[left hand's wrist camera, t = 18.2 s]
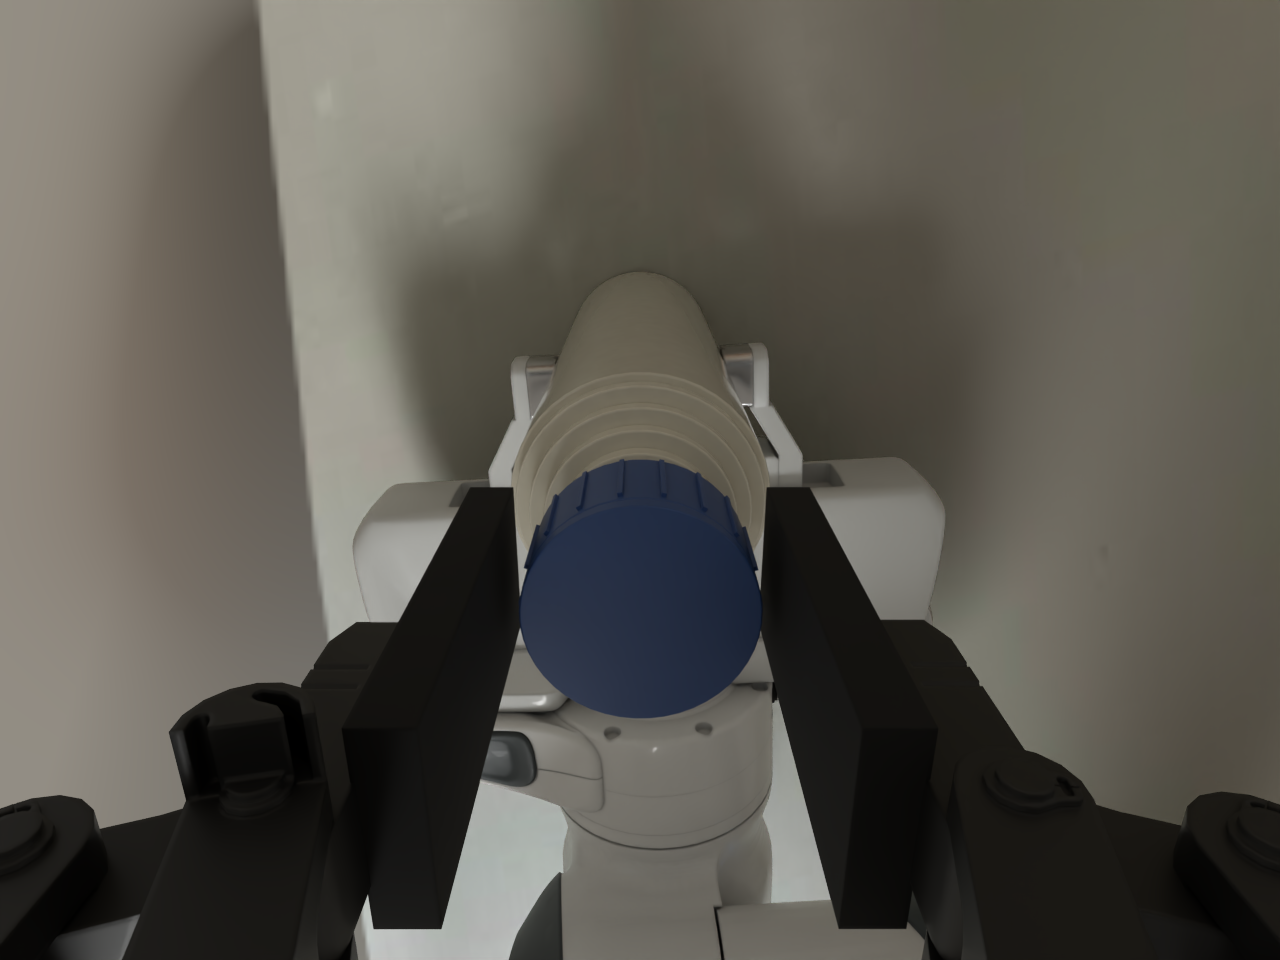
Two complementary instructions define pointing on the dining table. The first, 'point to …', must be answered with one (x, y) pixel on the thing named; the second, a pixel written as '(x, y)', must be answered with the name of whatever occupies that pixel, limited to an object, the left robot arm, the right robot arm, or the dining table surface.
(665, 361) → the bottle
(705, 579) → the cap
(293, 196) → the dining table surface
